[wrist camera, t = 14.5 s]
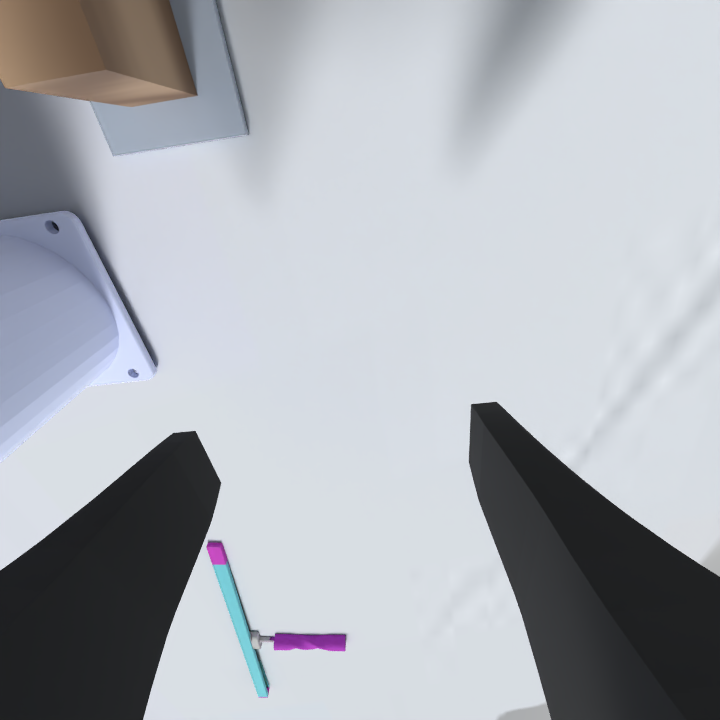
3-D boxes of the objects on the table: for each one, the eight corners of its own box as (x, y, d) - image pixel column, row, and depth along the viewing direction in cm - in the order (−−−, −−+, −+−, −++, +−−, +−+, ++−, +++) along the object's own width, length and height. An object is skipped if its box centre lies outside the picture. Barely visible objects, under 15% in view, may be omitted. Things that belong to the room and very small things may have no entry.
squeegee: (346, 701, 40) (258, 700, 40) (347, 682, 42) (261, 681, 42) (342, 552, 26) (204, 550, 26) (343, 531, 27) (213, 529, 27)
